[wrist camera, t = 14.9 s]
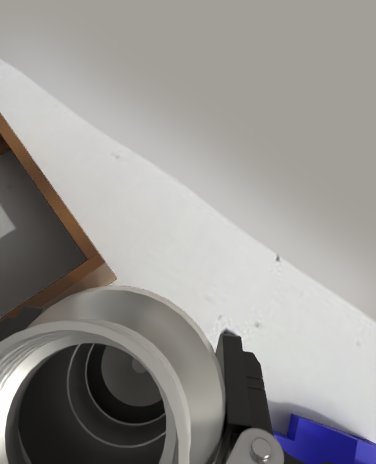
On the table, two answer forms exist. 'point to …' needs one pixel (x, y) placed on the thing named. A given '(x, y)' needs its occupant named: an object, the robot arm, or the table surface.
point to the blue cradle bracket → (324, 444)
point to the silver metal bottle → (111, 384)
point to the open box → (95, 267)
